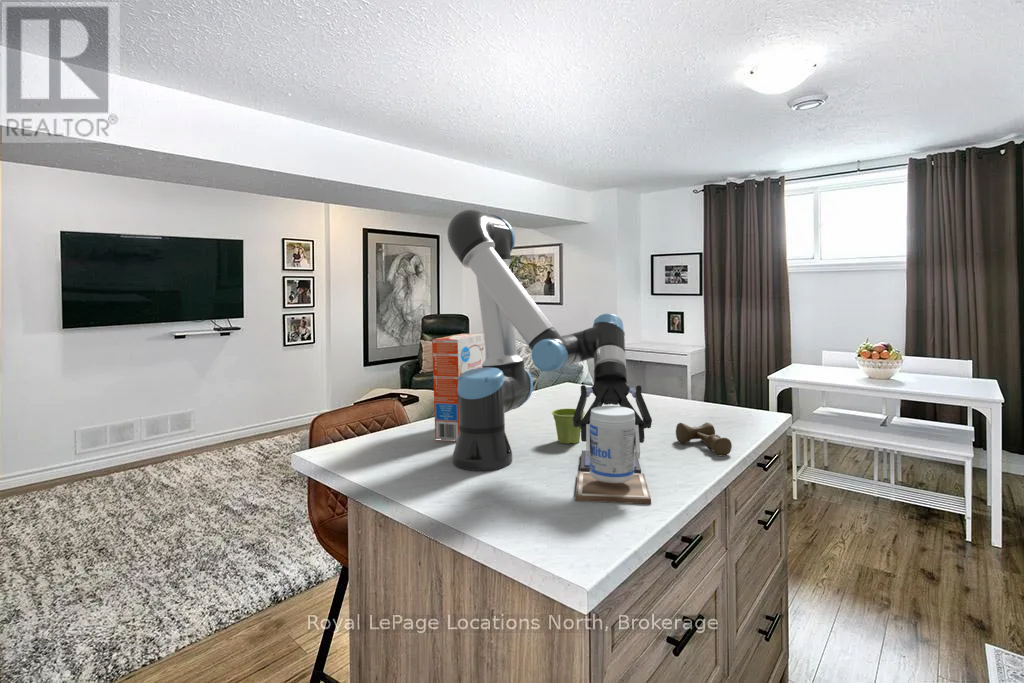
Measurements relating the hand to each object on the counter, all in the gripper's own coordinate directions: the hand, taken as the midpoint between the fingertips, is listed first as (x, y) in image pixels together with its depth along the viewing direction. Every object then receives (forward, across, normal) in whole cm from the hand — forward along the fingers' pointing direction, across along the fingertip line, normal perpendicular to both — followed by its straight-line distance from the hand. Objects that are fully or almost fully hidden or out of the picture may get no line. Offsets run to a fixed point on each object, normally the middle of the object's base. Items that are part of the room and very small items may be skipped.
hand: (612, 454), depth 108 cm
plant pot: (-21, +11, -34) cm, 42 cm away
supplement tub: (+2, 0, -6) cm, 7 cm away
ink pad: (-8, 0, -20) cm, 21 cm away
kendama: (-20, -26, -33) cm, 47 cm away
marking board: (+4, 0, -8) cm, 9 cm away
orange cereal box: (-28, +45, -40) cm, 66 cm away
